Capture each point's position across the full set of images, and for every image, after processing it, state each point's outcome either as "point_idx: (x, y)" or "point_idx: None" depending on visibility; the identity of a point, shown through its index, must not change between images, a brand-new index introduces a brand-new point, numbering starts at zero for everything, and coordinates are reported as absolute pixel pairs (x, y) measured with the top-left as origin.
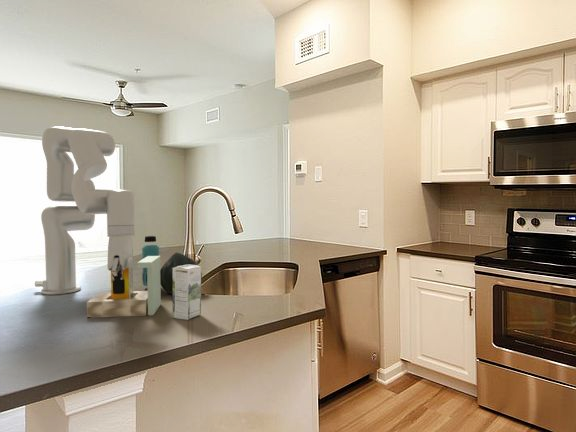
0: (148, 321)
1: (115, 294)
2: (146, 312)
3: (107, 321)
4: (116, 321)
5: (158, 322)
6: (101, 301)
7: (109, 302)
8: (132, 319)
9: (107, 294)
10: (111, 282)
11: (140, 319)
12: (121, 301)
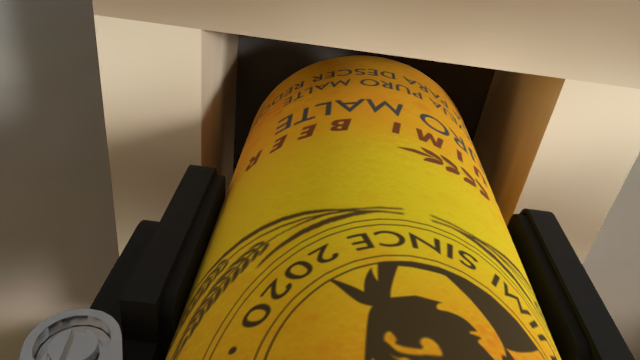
0: (29, 302)
1: (236, 173)
2: None
3: (22, 42)
4: (24, 115)
5: (10, 345)
6: (95, 1)
7: (106, 94)
8: (77, 216)
9: (539, 7)
10: (272, 222)
11: (76, 261)
12: (118, 213)
